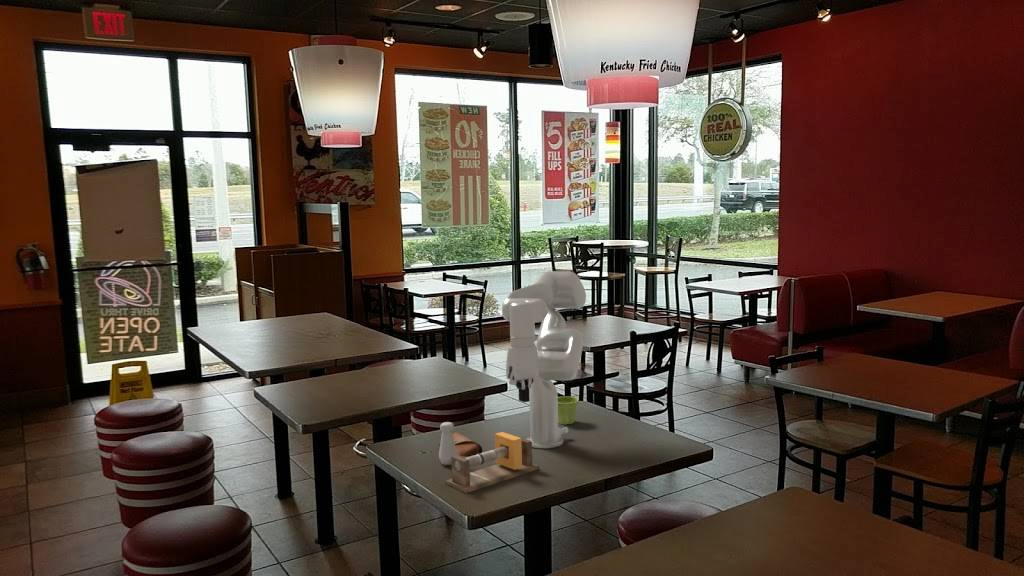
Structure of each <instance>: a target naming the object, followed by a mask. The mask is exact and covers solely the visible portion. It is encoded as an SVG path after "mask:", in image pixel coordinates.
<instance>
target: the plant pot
mask: <svg viewBox="0 0 1024 576" xmlns="http://www.w3.org/2000/svg"><path fill="white" fill-rule="evenodd" d="M578 402H579V398H578V397H575V396H558V425H559V424H560V425H563V426H566V425H572V424H574V423H575V421H576V420H575V419H576V412H577V411H576V410H577V404H578Z"/></svg>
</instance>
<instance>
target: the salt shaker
mask: <svg viewBox="0 0 1024 576" xmlns="http://www.w3.org/2000/svg"><path fill="white" fill-rule="evenodd" d="M454 425H455V424H454V423H453V422H450V421H445V422H442V423H441V424H440V426H439V428H440V431H441V437H440V438H441V439H440V443H441V444H440V445H439V452H438V457H439V458H438V459H439V461H440V462H441V464H442V465H443V466H452V465H451V464H452V461H451V457H452V456H455V455H457V452H456V447H455V443H454V439H453V434H454V433H453V431H454V429H455V426H454Z"/></svg>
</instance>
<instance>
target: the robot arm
mask: <svg viewBox="0 0 1024 576" xmlns="http://www.w3.org/2000/svg"><path fill="white" fill-rule="evenodd" d="M586 301H587V293H586V291H585V287H584V285H583V283H582V281H581V278H580V277H579V276H578V275H577V274H576V273H575V272H573V271H569V270H567V271H564V270H562V271H561V270H560V271H556V270H549V271H544V272H541V274H540V275H539V276H538V277H537V278H536V279H535V281H534V282H533V283H532V284H531V285H530V284H529V285H527V286H524V287H521V288H519V289H516V290H513V291H512V292H510V293H509V294H508V295H507V296H506V298H505V299H504V301H503V303H502V307H501V315H502V317H503V319H504V320H506V322H509V337H510V338H509V339H510V346H509V347H508V350H507V354H506V364H505V365H506V367H505V368H506V371H505V375H506V379H508V380H509V382H508V383H509V385H512V386H516V389H518V401H519V402H522V403H529V429H530V430H529V432H530V433H529V435H530V436H529V437H527V438H526V439H527V440H530V441H532V448H534V449H535V448H536V449H555V448H557V447H561V446H562V445H563V444H564V438H563V437H562V435H563V434H567V433H569V428H568V427H567V426H565V427H561V428H560V426H559V422H558V397H559V396H558V395H559V393H558V390H557V388H556V386H555V384H554V383H553V382H552V381H573V380H575V378H576V377H577V375H578V371H579V368H580V362H581V357H582V353H583V348H584V338H583V335H582V332H580V331H579V330H578V329H575V328H566V325H567V324H566V323H567V322H566V320H565V318H564V317H563V315H562V314H561V313H560V312H559V310H557V309H570V310H571V309H572V310H573V309H575V310H576V309H581V308H583V307H584V306H585V304H586ZM536 323H541V324H540V328H539V332H538V336H536V327H535V326H536V325H535V324H536Z"/></svg>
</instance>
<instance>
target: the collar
mask: <svg viewBox="0 0 1024 576" xmlns="http://www.w3.org/2000/svg"><path fill="white" fill-rule="evenodd" d="M519 437H520V436H515V435H513V434H510V433H506V432H503V431H500V432H496V433H494V449H497V448H501V447H504V446H508V447H509V456H506V457H503V458H499V459H496V460H494V461H495V463H496V464H501V465H504V466H506V467H509V468H511V469H514V470H515V469H518V468H521V467H522V446H521V438H522V437H521V438H519Z"/></svg>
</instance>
